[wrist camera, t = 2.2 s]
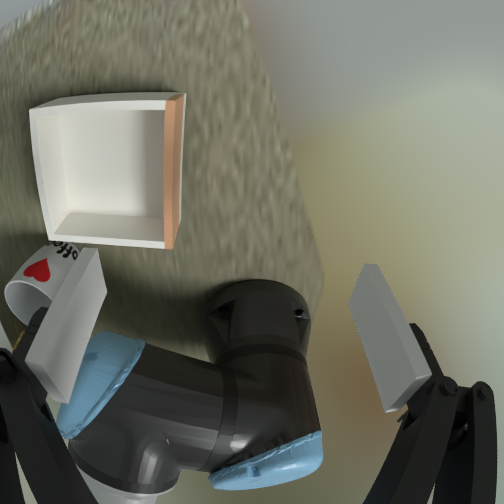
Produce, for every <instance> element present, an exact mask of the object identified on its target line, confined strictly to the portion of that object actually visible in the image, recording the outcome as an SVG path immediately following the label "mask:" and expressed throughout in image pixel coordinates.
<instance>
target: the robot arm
mask: <svg viewBox="0 0 504 504" xmlns="http://www.w3.org/2000/svg"><path fill="white" fill-rule="evenodd" d="M106 294H107V289H106V285H105V281H104V277H103V272H102V268H101V263H100V258H99V254H98V249H97V248H86V247H83V249H82V251H81V252H80V254H79V255H78V257H77V259H76V261H75V262H74V264H73V266H72V267H71V269H70V271H69V273H68V274H67V276H66V278H65V280H64V281H63V283H62V285H61V287H60V289H59V290H58V292H57V294H56V296H55V298H54V300H53V302H52V304H51V306H50V307H49V308H48V307H40V308H39V309H38V310H37V311H36V312H35V313H34V314H33V316H32V318H31V320H30V321H29V323H28V326H27V327H26V329H25V331H24V332H25V333H23V335H22V338H21V340H20V342H19V344H18V346H17V348H16V350H15V352H14V355H13V356H12V354H11V353H10V351H8V350H7V349H5V348H0V504H25V501H24V497H23V493H22V488H21V484H20V479H19V474H18V468H17V464H16V456H15V452H16V455H17V458H18V460H19V463H20V465H21V468H22V470H23V472H24V475H25V477H26V480H27V482H28V484H29V486H30V489H31V491H32V493H33V495H34V497H35V499H36V501H37V503H38V504H155V501H156V497H157V495H161V494H164V493H167V492H169V491H170V490H172V489H173V488H174V487H175V485H176V483H177V480H178V476H179V474H180V471H181V469H188V470H196V471H203V472H209V473H210V475H209V477H208V479H209V480H210V483H211V485H212V486H213V487H214V488H216V489H222V490H243V489H254V488H261V487H267V486H272V485H277V484H281V483H285V482H289V481H292V480H296V479H299V478H301V477H304V476H306V475H308V474H310V473H312V472H314V471H315V470H316V469H317V468H318V467H319V466H320V465H321V463H322V460H323V450H322V441H321V436H322V432H321V428H320V423H319V418H318V414H317V409H316V404H315V399H314V395H313V390H312V386H311V381H310V376H309V372H308V367H307V362H306V355H307V349H308V344H309V337H310V332H311V317H310V313H309V309H308V306H307V303H306V301H305V300H304V298H303V297H302V296H301V295H300V294H299V293H298V292H297V291H295V290H294V289H292V288H290V287H288V286H286V285H284V284H281V283H277V282H272V281H264V280H254V281H245V282H240V283H236V284H233V285H230V286H228V287H226V288H224V289H222V290H220V291H219V292H217V293H216V294H214V295H213V296H212V297H211V298H210V299H209V300H208V302H207V303H206V304H205V306H204V308H203V311H202V315H201V327H200V330H201V336H202V340H203V342H204V345H205V348H206V351H207V354H208V357H209V360H210V362H211V363H210V362H206V361H202V360H199V359H195V358H192V357H188V356H185V355H182V354H178V353H175V352H172V351H169V350H165V349H162V348H159V347H156V346H153V345H150V344H147V343H145V341H144V340H142V339H137V340H136V339H133V338H130V337H126V336H123V335H120V334H117V333H114V332H110V331H102V332H99V333H97V334H95V335H94V336H93V337H92V338H91V339H90V340H89V338H90V336H91V333H92V330H93V327H94V325H95V322H96V319H97V317H98V314H99V311H100V309H101V306H102V304H103V301H104V299H105V296H106ZM348 306H349V309H350V312H351V314H352V317H353V320H354V322H355V324H356V328H357V330H358V333H359V336H360V339H361V342H362V344H363V347H364V350H365V353H366V356H367V359H368V362H369V365H370V368H371V371H372V374H373V377H374V380H375V383H376V386H377V389H378V392H379V395H380V398H381V401H382V404H383V408H384V411H385V412H391V411H396V410H400V409H401V408H402V407H403V406H404V405H405V404H406V403H407V406H408V410H407V411H406V412H405V413H404V414H403V415H402V416H401V417H400V418H399V419H398V421H397V422H400V421H401V420H402V419H403V420H402V423H401V426H400V428H399V430H398V433H397V435H396V438H395V440H394V442H393V444H392V447H391V449H390V451H389V453H388V455H387V458H386V460H385V462H384V464H383V466H382V468H381V470H380V473H379V475H378V476H377V478H376V480H375V482H374V484H373V486H372V488H371V490H370V492H369V493H368V495H367V497H366V499H365V501H364V503H363V504H427V502H428V499H429V497H430V494H431V492H432V489H433V487H434V484H435V488H434V495H433V501H432V504H495V498H496V483H497V431H496V430H497V429H496V414H495V404H494V394H493V391H492V389H491V388H490V386H489V385H488V384H486V383H485V382H482V381H479V382H476V383H475V384H474V385H473V386H472V387H471V388H468V387H461V386H458V385H457V383H456V382H455V381H454V380H453V379H451V378H450V377H447V376H444V375H443V373H442V371H441V368H440V366H439V364H438V362H437V360H436V358H435V356H434V354H433V351H432V349H430V348H431V347H430V345H429V343H428V342H427V339H426V338H425V335H424V333H423V331H422V330H421V329H420V328H419V327H418V326H417V325H416V324H415V323H412V324H409V323H408V322H407V319H406V317H405V316H404V314H403V312H402V310H401V308H400V306H399V304H398V302H397V300H396V298H395V296H394V294H393V292H392V291H391V289H390V287H389V285H388V283H387V281H386V279H385V278H384V276H383V274H382V272H381V271H380V269H379V267H378V265H377V264H364V265H363V268H362V271H361V273H360V275H359V278H358V281H357V283H356V286H355V288H354V290H353V293H352V295H351V298H350V300H349V302H348ZM88 341H89V342H88ZM47 393H48V394H49V396H50V397H51V398H52V399H53V400H55V401H58V402H62V403H61V406H60V409H59V412H58V416H57V420H56V423H55V420H54V418H53V416H52V413H51V411H50V408H49V406H48V404H47V402H46V396H47ZM62 436H63V437H64V438H65V439H69V444H68V449H67V447H66V445H65V443H64V440H63V438H62ZM14 449H15V450H14Z"/></svg>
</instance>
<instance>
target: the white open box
mask: <svg viewBox="0 0 504 504" xmlns="http://www.w3.org/2000/svg"><path fill="white" fill-rule="evenodd" d="M185 105H186V93H182V92H134V93H110V94H95V95H91V94H86V95H78V96H73V97H64V98H58V99H55V100H52V101H50V102H47V103H44V104H42V105H39V106H37V107H34V108H32V109H29V117H30V130H31V141H32V151H33V159H34V166H35V173H36V180H37V186H38V191H39V197H40V202H41V207H42V212H43V217H44V221H45V226H46V230H47V234H48V238H49V240H52V241H66V242H79V243H93V244H106V245H120V246H134V247H148V248H162V249H173V246H174V242H175V239H176V235H177V231H178V228H179V224H180V221H181V185H182V156H183V136H184V119H185Z"/></svg>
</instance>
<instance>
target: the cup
mask: <svg viewBox="0 0 504 504" xmlns="http://www.w3.org/2000/svg"><path fill="white" fill-rule="evenodd" d="M79 254H80V252H79V250H78V248H77V247H76V246H75V245H74V244H73V243H71V242H66V241H52V242H50V243H48V244H47V245H45V246H43V247H42V248H40V249H39V250H38V251H37V252H36V253H35V254H34V255H32V256H31V257H30V258H29V259H28V260H27V261H26V262H25V263H24V264H23V265H22V266H21V268H20V269H19V270H18V271H17V273H16V274H15V275H14V276H13V278H12V279H11V280H10V281H9V283H8V284H7V285H6V287H5V292H4V293H5V299H6V302H7V304H8V306H9V308H10V309H11V311H12V312H13V313H14V315H15V316H16V317H17V318H18V319H19V320H20V321H22V322H23V323H24V324H25V325H27V326H28V323H29V321H30V320H31V318H32V316H33V314H34V313H35V312H36V311H37V310H38V309H39V308H40V307H48V308H49V307H50V306H51V304H52V302H53V300H54V298H55V296H56V294H57V292H58V290H59V289H60V287H61V285H62V283H63V281H64V280H65V278H66V276H67V274H68V273H69V271H70V269H71V267H72V266H73V264H74V262H75V261H76V259H77V257H78V255H79Z"/></svg>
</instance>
